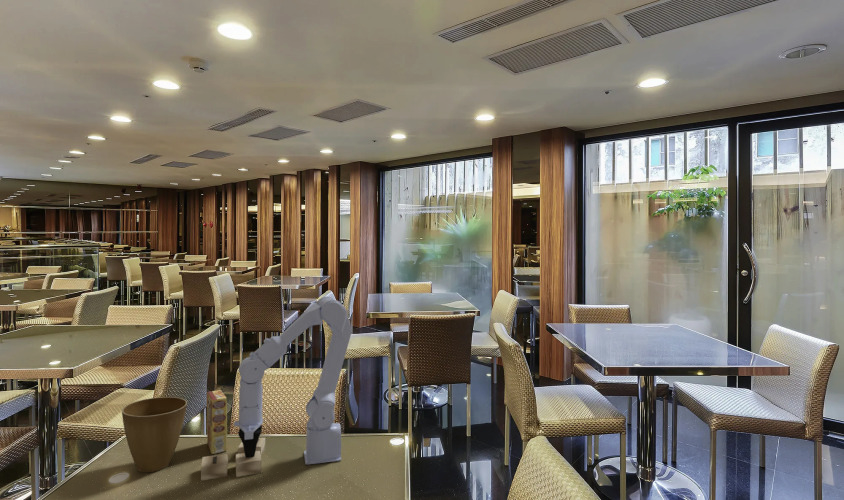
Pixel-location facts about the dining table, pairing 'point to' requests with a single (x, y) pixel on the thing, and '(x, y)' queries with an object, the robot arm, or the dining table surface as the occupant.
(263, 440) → the numbered block eleven
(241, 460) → the plain block
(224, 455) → the numbered block one
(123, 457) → the dining table surface
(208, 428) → the candy box
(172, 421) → the plant pot
